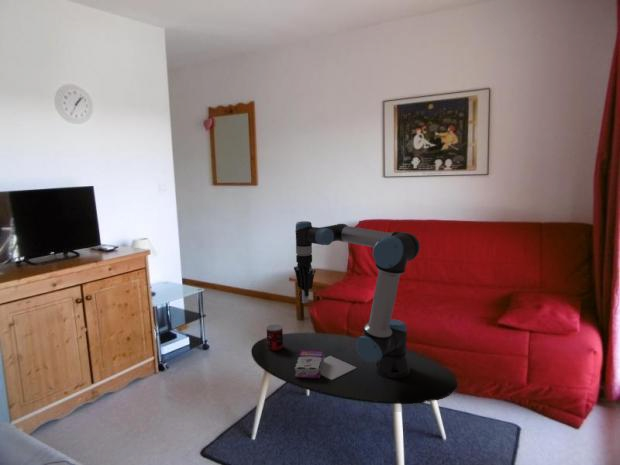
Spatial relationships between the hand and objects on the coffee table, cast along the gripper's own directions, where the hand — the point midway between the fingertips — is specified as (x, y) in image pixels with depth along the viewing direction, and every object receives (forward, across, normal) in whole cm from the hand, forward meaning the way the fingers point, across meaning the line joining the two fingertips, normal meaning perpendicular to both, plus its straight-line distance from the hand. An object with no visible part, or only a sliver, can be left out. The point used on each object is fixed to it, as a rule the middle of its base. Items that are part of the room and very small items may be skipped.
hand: (305, 302), depth 210 cm
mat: (+27, -18, +2) cm, 32 cm away
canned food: (+27, +17, +6) cm, 32 cm away
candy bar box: (+23, -8, +3) cm, 25 cm away
